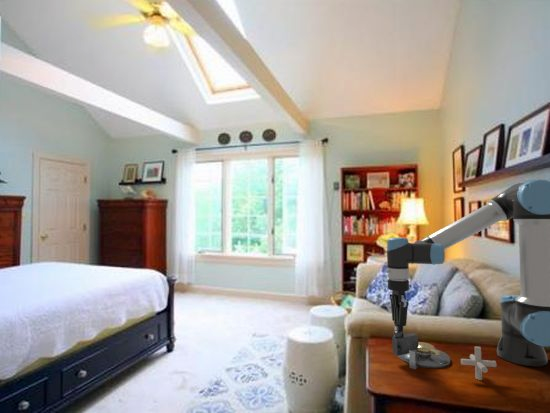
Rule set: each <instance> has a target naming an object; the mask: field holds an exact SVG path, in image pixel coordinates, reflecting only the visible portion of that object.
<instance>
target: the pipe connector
mask: <svg viewBox="0 0 550 413" xmlns="http://www.w3.org/2000/svg"><path fill="white" fill-rule="evenodd" d="M460 364H461V366H462V365H463V366H474V367H475V368H474V370H475V371H474V373H475V380H477V379H478V381H483V373H484V374H485V373H488V367H491V368H492V367H493V368H496V367H497V366H498V365H497V362H496V360H486V359H485V360H484V359H482V347H481V346H476V345H475V346H474V354H473V353H472V354H471V353H470V355H469V358H460Z"/></svg>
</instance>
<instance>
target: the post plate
mask: <svg viewBox="0 0 550 413" xmlns="http://www.w3.org/2000/svg"><path fill="white" fill-rule="evenodd" d="M435 350H437V351H439V355H433V354H431V353H423V352H417V350H415V349H410V350H409V353H408V354H404V355H399V356H397V357H398V358H399V359H400V360H401V361H403V362H405V363H406V364H409V368H410V369H412V370H416V369H418V367H419V368H426V369H440V368H445V367H448V366H449V365H450V364H451V357H450V356H449V355H448V353H447V352H444V351H443V350H439V349H437V348H435Z"/></svg>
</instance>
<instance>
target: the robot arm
mask: <svg viewBox="0 0 550 413" xmlns="http://www.w3.org/2000/svg"><path fill="white" fill-rule="evenodd" d="M512 218H513V221H514V222H515V223H516V224H517V225H518V240H519V241H518V242H519V243H518V245H519V251H518V252H519V280H520V282H519V283H520V284H519V285H520V286H519V287H520V289H519V290H520V291H519V292H520V293H519V294H504V295H502V296H500V303H499V304H500V317H501V318H500V319H501V324H500V325H501V335H500V339H499V341H498V343H497V346H496V354H497V356H498V357H499V358H501V359H503V360H504V361H508V362H509V363H513V364H517V365H520V366H527V367H543V366H544V365H545V366H547V365H548V364H547V363H549V362H548V355H547V353H546V350H545V348H547V347H550V181H549V180H547V179H538V178H537V179H528V180H526V181H524V182H519V183H516V184H513V185H511V186H510V187H508V188H507V189H505V190H503V191H501V192H500V193H499V194H497V195H495V196H494V197H492V198H491V199H489V200H488V203H487V204H485V205H484V206H481V207H479V208H478V209H475V210H474V211H472V212H470V213H469V214H467V215H465V216H463V217H461V218H459V219H457V220H455V221H454V222H452V223H450V224H448V225H447V226H445V227H442V228H441V229H439V230H437V231H435V232H434V233H432V234H430V235H428V236H426V237H424V238H422V239H421V240H416V241H415V242H409V239H408V237H388V239H387V240H386V241H387V242H386V243H387V244H386V262H387V270H386V271H385V272H386V273H387V278H388V279H387V289H388V290H390V291H391V294H390V293H389V300H390V308H391V309H390V310H391V318H392V322H393V323H394V330H399V331H402V335H404V334H405V333H404V331H405V330H404V327H407V319H408V307H409V305H410V303H409V301H407V297H406V292H407V291H409V290H410V280H409V279H410V268H409V265H410V264H412V265H413V264H414V265H415V264H421V265H433V266H434V265H443V264H444V262H445V258H446V254H445V253H446V252H445V250H447V249H449V248H450V247H452V246H454V245H456V244H458V243H460V242H462V241H464V240H466V239H468V238H470V237H472V236H473V235H476V234H477V233H479V232H481V231H483V230H485V229H487V228H489V227H491V226H493V225H495V224H497V223H499V222H506V221H509V220H510V219H512ZM544 347H545V348H544ZM546 364H547V365H546Z"/></svg>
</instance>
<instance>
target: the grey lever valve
mask: <svg viewBox="0 0 550 413" xmlns="http://www.w3.org/2000/svg"><path fill="white" fill-rule="evenodd" d="M391 344H392V354H393V355H395V356H397V357H398V356H399V355H404V354H408V353H409V350H410V349H415V350H417V352H423V353H431V354H433V355H439V351H437V350H435V349H436V348H435V345H433V344H430V343H427V342H423V341H422V342H421V341H419V335H418V334H417V333H414V332H410V333H404V335H402V331H399V330H395V329H394V330H393V336H391Z"/></svg>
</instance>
